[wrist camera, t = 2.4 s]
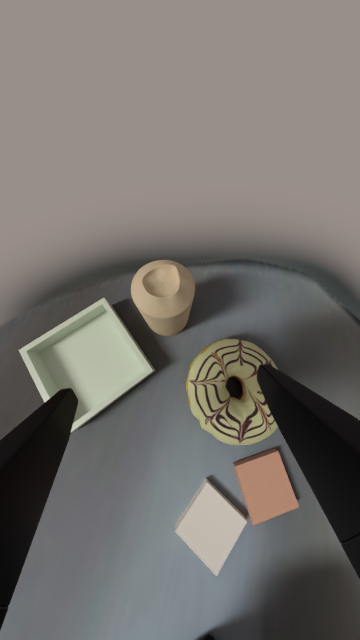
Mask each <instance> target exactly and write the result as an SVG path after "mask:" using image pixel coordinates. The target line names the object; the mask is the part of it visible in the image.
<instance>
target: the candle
mask: <svg viewBox="0 0 360 640" xmlns="http://www.w3.org/2000/svg"><path fill="white" fill-rule="evenodd" d="M194 294H195V283H194V280H193V277H192V275H191V274H190V272H189V271H188V270H187V269H186V268H185V267H184V266H182V265H181V264H179V263H176V262H173V261H169V260H158V261H153V262H151V263H148V264H147V265H145V266H143V267H142V268H141V269H140V270H139V271H138V272H137V273H136V275H135V276H134V278H133V281H132V284H131V295H132V299H133V301H134V303H135V304H136V306H137V308H138V309H139V311H140V312H141V314H142V316H143V317H144V319H145V320H146V322H147V324H148V325H149V327H150V328H151V329H152V330H153V331H154V332H155V333H157V334H159V335H162V336H172V335H175V334H177V333H179V332H180V331H182V330H183V329H184V327H185V326H186V324H187V321H188V318H189V314H190V310H191V306H192V302H193V299H194Z"/></svg>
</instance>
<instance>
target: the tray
mask: <svg viewBox="0 0 360 640" xmlns="http://www.w3.org/2000/svg"><path fill="white" fill-rule="evenodd" d="M19 352H20V354H21V356H22V358H23V360H24V362H25V364H26V366H27V368H28V370H29V372H30V374H31V376H32V378H33V380H34V382H35V384H36V386H37V388H38V390H39V392H40V394H41V396H42V398H43V400H44V402H46V401H47V400H49V399H50V398H51V397H52V396H53V395H55V394H56V393H57V392H58V391H59V390H61V389H65V388H72V389H73V391H74V393H75V395H76V396H77V398H78V406H77V410H76V414H75V418H74V422H73V425H72V429H71V433H73V432H74V431H76V430H77V429H79V428H80V427H81V426H83V425H84V424H85V423H87V422H88V421H89V420H91V419H92V418H93V417H95V416H96V415H97V414H99V413H100V412H101V411H103V410H104V409H105V408H107V407H108V406H109V405H111V404H112V403H113V402H114V401H116V400H117V399H118V398H120V397H121V396H122V395H124V394H125V393H126V392H128V391H129V390H130V389H132V388H133V387H134V386H136V385H137V384H138V383H140V382H141V381H142V380H144V379H145V378H146V377H148V376H149V375H150V374H152V373H153V372H154V371H156V370H155V369H154V367H153V366H152V364H151V363H150V361H149V360H148V358H147V357H146V355H145V354H144V352H143V351H142V349H141V348H140V346H139V345H138V344H137V342H136V341H135V339H134V338H133V336H132V335H131V333H130V332H129V330H128V329H127V327H126V326H125V324H124V323H123V321H122V320H121V318H120V317H119V315H118V314H117V313H116V311H115V310H114V308H113V307H112V305H111V304H110V303H109V302H108V301H107V300H106V299H105V298H103V299H101V300H99V301H98V302H96V303H94V304H93V305H91V306H90V307H88V308H86V309H85V310H83V311H81V312H80V313H78V314H77V315H75V316H73V317H72V318H70V319H68V320H67V321H65V322H64V323H62V324H60V325H59V326H57V327H55V328H54V329H52V330H51V331H49V332H47V333H46V334H44V335H42V336H41V337H39V338H38V339H36V340H34V341H33V342H31V343H29V344H28V345H26V346H25V347H23V348H21V349H20V350H19ZM71 433H70V434H71Z"/></svg>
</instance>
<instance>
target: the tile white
mask: <svg viewBox="0 0 360 640" xmlns="http://www.w3.org/2000/svg"><path fill="white" fill-rule="evenodd" d="M246 523H247V520H246V518H245V516H244V515H243V514H242V513H241V512H240V511H239V510H238V509H237V508H236V507H235V506H234V505H233V504H232V503H231V502H230V501H229V500H228V499H227V498H226V497H225V496H224V495H223V494H222V493H221V492H220V491H219V490H218V489H217V488H216V487H215V486H214V485H213V484H212V483H211V482H210V481H209V480H208V479H207V478H205V480H204V481H203V483H202V484H201V486H200V488H199V489H198V491H197V492H196V494H195V495H194V497H193V498H192V500H191V501H190V503H189V504H188V506H187V507H186V509H185V510H184V512H183V513H182V515H181V516H180V518H179V519H178V521H177V523H176V524H175V532H176V533H177V534H178V535H179V536H180V537H181V538H182V539H183V540H184V541H185V543H186V544H187V545H188V546H189V547H190V548H191V549H192V550H193V551H194V552H195V553H196V555H197V556H198V557H199V558H200V559H201V560H202V561H203V562H204V563H205V564H206V565H207V566H208V568H209V569H210V570H211V571H212V572H213V573H214V574H215V575H216V576H217V575H218V573H219V571H220V569H221V568H222V566H223V564H224V562H225V560H226V559H227V557H228V555H229V553H230V551H231V550H232V548H233V546H234V544H235V543H236V541H237V539H238V537H239V535H240V534H241V532H242V530H243V528H244V527H245V525H246Z"/></svg>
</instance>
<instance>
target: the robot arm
mask: <svg viewBox="0 0 360 640" xmlns="http://www.w3.org/2000/svg"><path fill="white" fill-rule="evenodd" d="M257 382H258V384H259V386H260V389H261V391H262V394H263V396H264V398H265V401H266V403H267V406H268V408H269V410H270V412H271V414H272V416H273V418H274V420H275V422H276V424H277V426H278V427H279V429H280V431H281V433H282V435H283V437H284V439H285V440H286V442H287V444H288V446H289V448H290V450H291V452H292V454H293V455H294V457H295V459H296V461H297V463H298V465H299V467H300V468H301V470H302V472H303V474H304V476H305V478H306V480H307V482H308V483H309V485H310V487H311V489H312V491H313V493H314V495H315V496H316V498H317V500H318V502H319V504H320V506H321V508H322V509H323V511H324V513H325V515H326V517H327V519H328V521H329V523H330V524H331V526H332V528H333V530H334V532H335V534H336V536H337V537H338V539H339V541H340V543H342V544H341V545H342V547H343V549H344V551H345V553H346V555H347V556H348V558H349V560H350V562H351V564H352V566H353V568H354V569H355V571H356V573H357V575H358V577H359V579H360V420H358V419H357V418H355V417H354V416H352V415H350V414H349V413H347V412H346V411H344V410H342V409H341V408H339V407H337V406H336V405H334V404H333V403H331V402H329V401H328V400H326V399H324V398H323V397H321V396H320V395H318V394H316V393H315V392H313V391H312V390H310V389H308V388H307V387H305V386H303V385H302V384H300V383H299V382H297V381H295V380H294V379H292V378H290V377H289V376H287V375H286V374H284V373H282V372H281V371H279V370H277V369H276V368H274V367H273V366H271V365H269V364H262V365H259V368H258V372H257ZM77 406H78V398H77V396H76V395H75V393H74V391H73V389H72V388H65V389H61V390H59V391H58V392H57V393H56V394H55V395H53V396H52V397H51V398H50V399H49V400H47V401H46V402H45V403H44V404H43V405H41V406H40V407H39V408H38V409H37V410H36V411H34V412H33V413H32V414H31V415H30V416H28V417H27V418H26V419H25V420H24V421H23V422H21V423H20V424H19V425H18V426H17V427H15V428H14V429H13V430H12V431H11V432H10V433H8V434H7V435H6V436H5V437H4V438H2V439H1V440H0V630H1V627H2V624H3V621H4V619H5V616H6V613H7V610H8V606H9V604H10V601H11V599H12V596H13V593H14V590H15V587H16V585H17V582H18V579H19V576H20V574H21V571H22V568H23V565H24V562H25V560H26V557H27V554H28V551H29V549H30V546H31V543H32V540H33V538H34V535H35V532H36V529H37V526H38V524H39V521H40V518H41V515H42V513H43V510H44V507H45V504H46V501H47V499H48V496H49V493H50V490H51V488H52V485H53V482H54V479H55V476H56V474H57V471H58V468H59V465H60V463H61V460H62V457H63V454H64V452H65V449H66V446H67V443H68V440H69V437H70V433H71V429H72V425H73V422H74V418H75V414H76V410H77ZM204 640H214V638H213V637H212V636H207V637H206V638H205V639H204Z"/></svg>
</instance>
